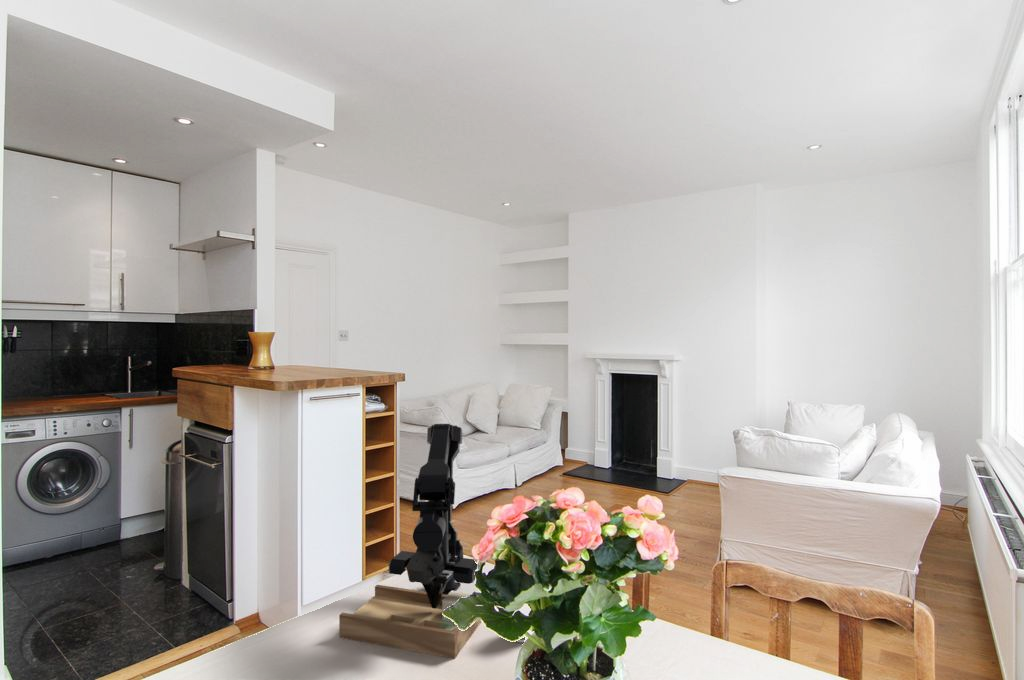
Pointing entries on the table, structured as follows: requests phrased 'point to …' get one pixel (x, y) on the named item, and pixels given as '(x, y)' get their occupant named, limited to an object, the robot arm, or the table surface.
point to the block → (452, 600)
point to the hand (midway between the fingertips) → (434, 607)
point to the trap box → (405, 623)
